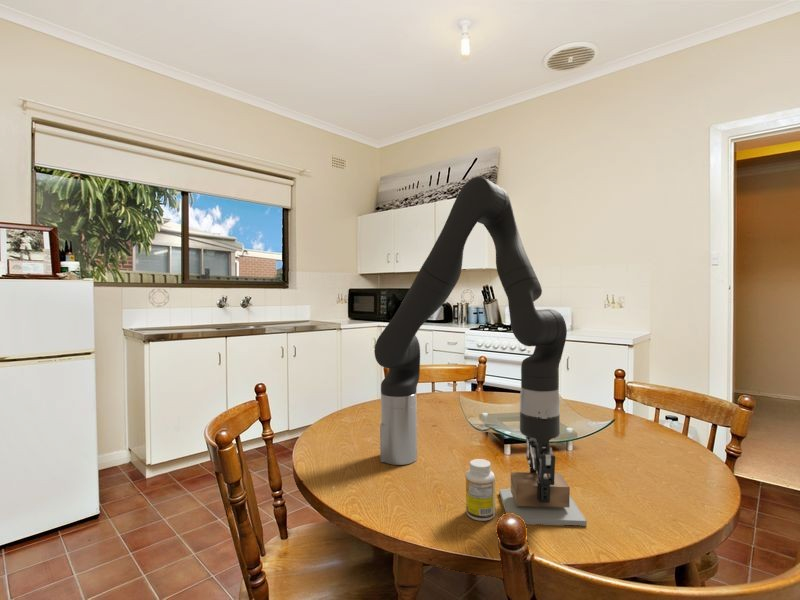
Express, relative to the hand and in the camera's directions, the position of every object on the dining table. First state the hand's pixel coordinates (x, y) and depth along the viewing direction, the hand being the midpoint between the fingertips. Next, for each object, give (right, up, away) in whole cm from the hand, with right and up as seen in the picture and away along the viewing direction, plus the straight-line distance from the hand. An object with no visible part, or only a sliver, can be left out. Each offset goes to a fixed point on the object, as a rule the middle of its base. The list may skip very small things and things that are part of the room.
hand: (539, 493), depth 86 cm
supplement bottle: (-12, -3, -2) cm, 13 cm away
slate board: (0, -3, 0) cm, 3 cm away
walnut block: (0, -1, 0) cm, 1 cm away
